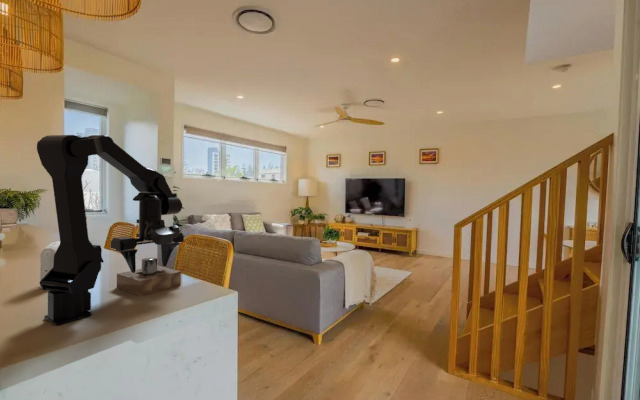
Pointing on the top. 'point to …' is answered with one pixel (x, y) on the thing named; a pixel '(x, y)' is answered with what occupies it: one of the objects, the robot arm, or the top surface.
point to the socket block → (148, 281)
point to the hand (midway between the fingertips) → (149, 269)
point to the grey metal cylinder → (149, 266)
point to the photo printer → (47, 258)
